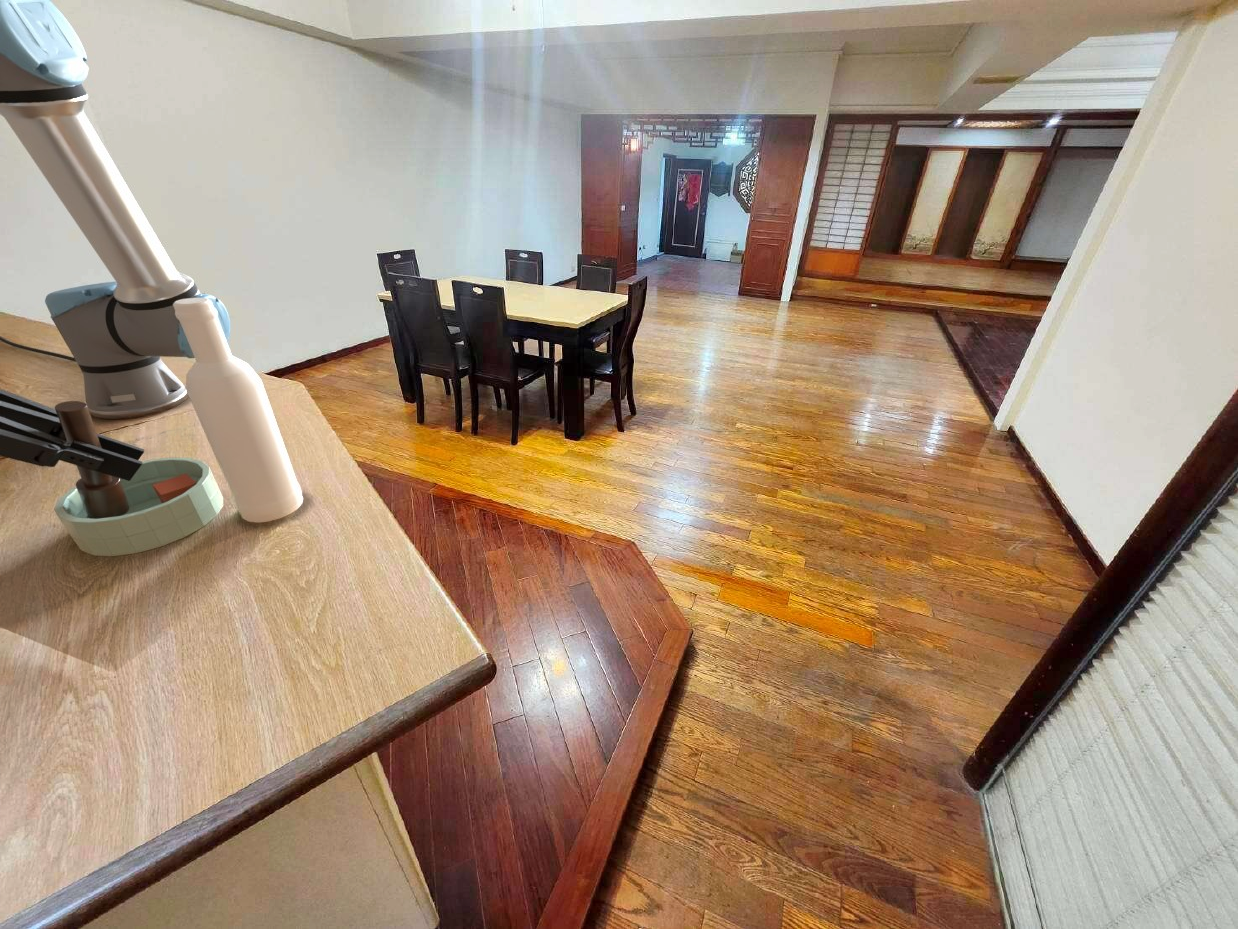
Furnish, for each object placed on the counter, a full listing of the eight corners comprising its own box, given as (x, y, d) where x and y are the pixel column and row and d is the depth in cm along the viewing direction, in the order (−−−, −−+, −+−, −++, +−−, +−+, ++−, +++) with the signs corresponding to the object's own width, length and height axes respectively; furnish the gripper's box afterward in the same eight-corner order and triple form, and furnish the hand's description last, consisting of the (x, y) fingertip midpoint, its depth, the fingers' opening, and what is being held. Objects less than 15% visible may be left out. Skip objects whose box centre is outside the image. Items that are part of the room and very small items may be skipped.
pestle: (80, 510, 65) (38, 403, 57) (119, 498, 68) (85, 395, 60) (96, 525, 64) (55, 417, 56) (135, 511, 67) (102, 408, 59)
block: (164, 507, 71) (151, 484, 69) (197, 495, 74) (186, 473, 72) (173, 518, 69) (160, 495, 67) (207, 505, 72) (196, 482, 70)
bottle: (311, 510, 73) (239, 303, 57) (249, 533, 68) (152, 312, 52) (295, 488, 77) (225, 290, 62) (236, 507, 73) (143, 298, 57)
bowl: (67, 525, 68) (43, 489, 65) (202, 479, 78) (187, 446, 75) (96, 577, 60) (70, 539, 57) (242, 518, 71) (227, 483, 67)
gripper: (-153, 371, 53) (126, 460, 70) (-246, 430, 42) (113, 519, 59) (-112, 315, 53) (158, 418, 70) (-194, 360, 42) (150, 469, 59)
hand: (136, 464), depth 64 cm, fingers closed on pestle, 3 cm apart
